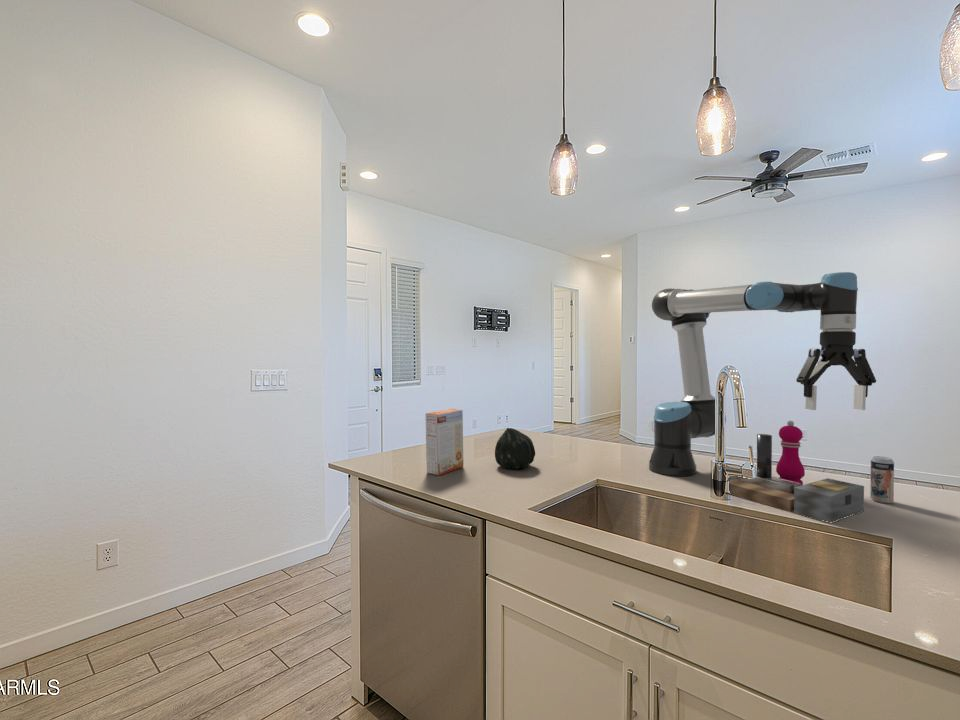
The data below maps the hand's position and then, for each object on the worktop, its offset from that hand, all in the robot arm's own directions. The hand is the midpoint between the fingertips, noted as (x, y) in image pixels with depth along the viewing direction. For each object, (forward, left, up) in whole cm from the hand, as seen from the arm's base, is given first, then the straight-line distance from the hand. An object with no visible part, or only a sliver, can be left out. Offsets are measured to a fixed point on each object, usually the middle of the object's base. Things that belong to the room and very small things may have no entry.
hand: (835, 409), depth 119 cm
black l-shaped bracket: (-10, -9, -22) cm, 26 cm away
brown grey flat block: (-7, -9, -25) cm, 28 cm away
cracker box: (-82, -79, -26) cm, 117 cm away
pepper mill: (-14, +7, -26) cm, 30 cm away
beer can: (+6, +13, -26) cm, 29 cm away
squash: (-74, -55, -26) cm, 96 cm away
